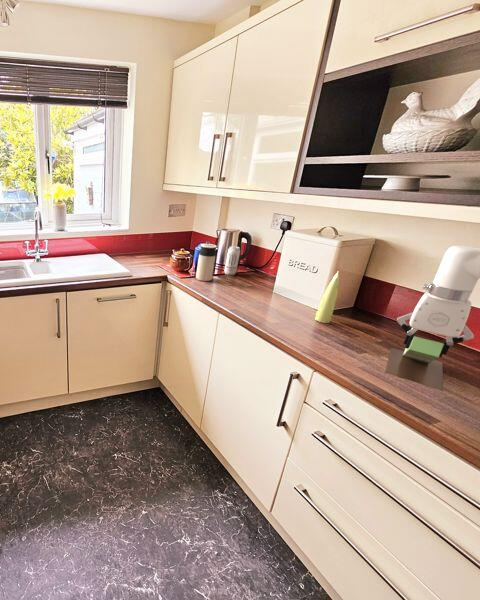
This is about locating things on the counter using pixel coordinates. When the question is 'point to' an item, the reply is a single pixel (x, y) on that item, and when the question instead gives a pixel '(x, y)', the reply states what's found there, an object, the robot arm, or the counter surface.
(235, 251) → the white bottle
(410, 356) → the block
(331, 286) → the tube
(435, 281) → the robot arm
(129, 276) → the counter surface
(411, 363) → the stand
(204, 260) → the travel mug
